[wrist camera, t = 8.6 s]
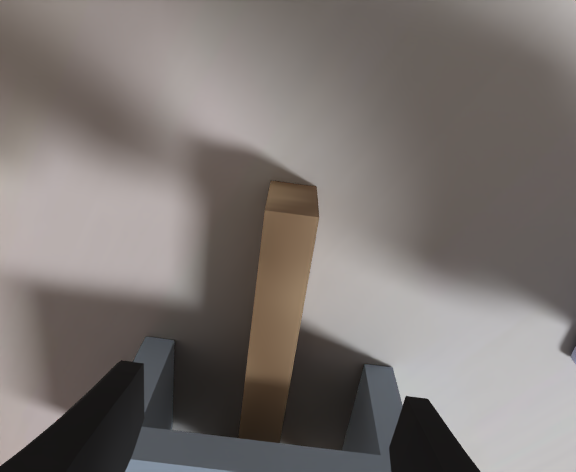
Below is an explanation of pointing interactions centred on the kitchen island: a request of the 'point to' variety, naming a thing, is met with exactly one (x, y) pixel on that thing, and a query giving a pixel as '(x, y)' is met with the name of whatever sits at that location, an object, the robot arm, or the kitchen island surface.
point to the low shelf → (251, 453)
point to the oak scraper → (278, 307)
